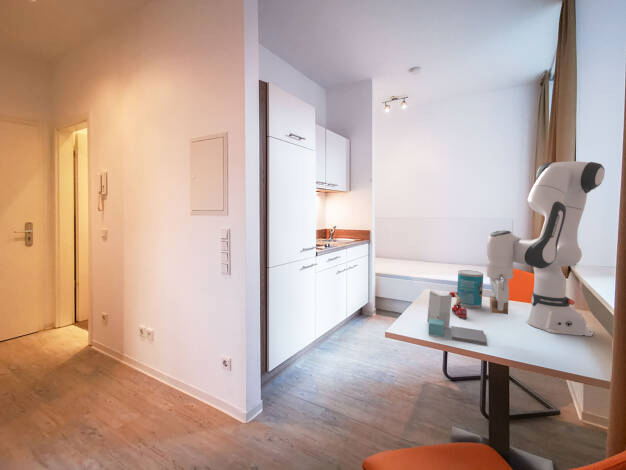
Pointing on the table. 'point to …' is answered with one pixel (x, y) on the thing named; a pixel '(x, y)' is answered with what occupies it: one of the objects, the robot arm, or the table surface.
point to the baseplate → (468, 335)
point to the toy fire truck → (458, 310)
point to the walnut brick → (494, 306)
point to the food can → (470, 288)
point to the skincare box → (439, 306)
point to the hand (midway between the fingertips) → (498, 307)
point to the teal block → (436, 327)
